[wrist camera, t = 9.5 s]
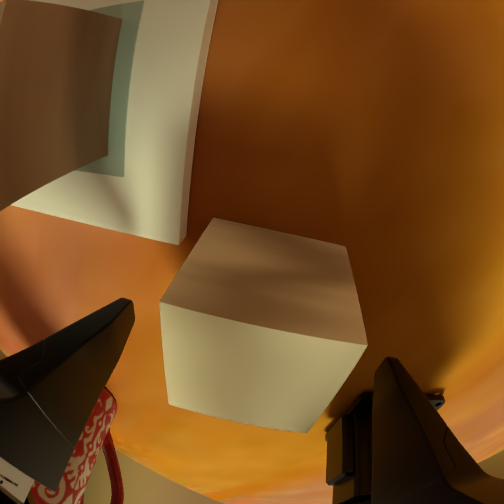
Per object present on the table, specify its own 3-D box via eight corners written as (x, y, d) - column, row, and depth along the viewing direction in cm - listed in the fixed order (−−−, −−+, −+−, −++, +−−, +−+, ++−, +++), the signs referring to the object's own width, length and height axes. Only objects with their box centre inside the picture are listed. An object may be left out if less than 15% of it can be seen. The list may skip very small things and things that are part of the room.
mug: (31, 358, 21) (-33, 458, 9) (62, 340, 17) (-25, 482, 6) (121, 434, 25) (81, 530, 14) (175, 434, 22) (132, 561, 10)
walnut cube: (122, 19, 7) (6, -2, 2) (108, 155, 9) (0, 210, 5) (30, 40, 7) (-65, 51, 3) (24, 149, 9) (-64, 191, 5)
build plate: (230, -47, 6) (223, -57, 5) (186, 235, 11) (178, 247, 11) (19, 1, 6) (7, 1, 5) (10, 196, 12) (-1, 203, 11)
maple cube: (345, 245, 11) (367, 345, 6) (309, 337, 13) (306, 433, 9) (213, 216, 11) (159, 301, 7) (204, 315, 13) (168, 404, 9)
